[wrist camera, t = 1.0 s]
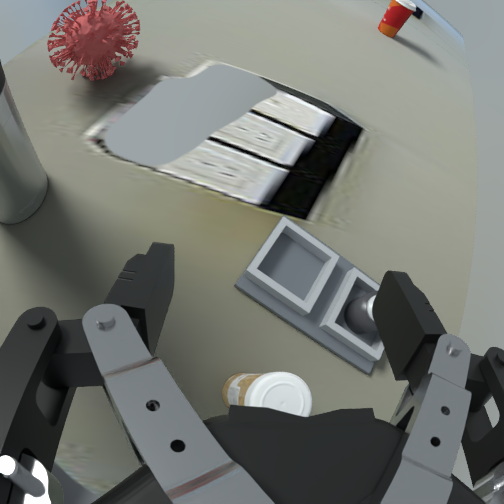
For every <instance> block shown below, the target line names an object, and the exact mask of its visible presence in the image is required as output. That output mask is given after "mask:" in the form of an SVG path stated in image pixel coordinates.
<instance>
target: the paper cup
mask: <svg viewBox="0 0 504 504" xmlns="http://www.w3.org/2000/svg"><path fill="white" fill-rule="evenodd" d="M415 8H416V6H415V4H413V3H412V2H411V1H409V0H392V1H391V3H390V5H389V7H388V9H387V11H386V13H385V15H384V17H383V18H382V20H381V22H380V24H379V27H378V29H379V31H380V32H382V33H383V34H385V35H386V36H388V37H391V38H393V37H394V36H395V35H396V34H397V32H398V31H399V30H400V28H401V27H402V26H403V25H404V23H405V22H406V21H407V19H408V18H409V17H410V15H411V14H412V13H413V12H414V11H416V9H415Z"/></svg>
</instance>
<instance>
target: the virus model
mask: <svg viewBox="0 0 504 504" xmlns="http://www.w3.org/2000/svg"><path fill="white" fill-rule="evenodd" d="M85 1H86V3H87V0H85ZM96 1H97V0H89V1H88V3H89V5H88V6H89V7H90V8H91V9H90V10H91V11H90V12H89V7H86V8H84V9H83V10H84V12H87V14H84V12H83V11H82V9H81V7H80V10H81V13H82V15H83V16H82V15H81V14H80V13H79V12H80V10H76V12H72V13H71V14H70V13H69V12H68V8H69V9H71V10H72V8H71V6H69V7H67V8H66V9H64V11H63V12H67V13H68V14H69V15H70V16H68V17H69V18H72V19H73V20H74V21H75V22H74V21H72V20H70V19H68V18H67V17H65V16H64V14H63V13H61V14H60V16H64V17H63V19H64V21H63V20H62V21H63V22H64V23H65V26H62V27H61V28H63V29H62V31H63V32H65V35H55V34H54V33H52V35H50V36H49V38H50V37H59V38H63V39H55V40H54V41H56V42H55V43H54V41H51V40H48V43H47V44H48V51H49V52H50V50H52V49H53V48H56V47H59V46H64V45H65V46H66V49H61V51H60V52H59V51H57V52H54V55H52V56H50V55H49V57H50V60H51V63H53V65H54V66H55V67H56V68H57V66H59V65H60V66H63V67H64V66H65V62H62V61H65V60H66V59H67V60H68V59H70V58H71V60H70V61H69V62H68V63H67V65H68V64H69V63H70V62H71V61H72V60H73V61H75V62H74V64H73V66H74V65H75V64H76V63H77V65H78V66H77V68H76V71H77V70H78V68H79V66H81V65H84V66H85V65H86V68H87V65H89V68H88V69H87V70H88V74H87V76H86V71H84V67H83V69H82V71H81V72H80V74H82V76H86V77H88V78H89V77H90V79H91V81H93V80H94V75H97V78H96V79H100V77H99V76H98V74H99V72H98V69H97V64H98V66H99V69H100V72H101V76H102V78H101V79H105V78H107V77H108V75H109V76H111V75H112V74H114V73H113V72H114V70H115V69H116V68H117V67H114V66H112V63H111V61H110V59H109V58H111V60H112V59H114V58H115V62H117V61H120V59H121V56H116V54H115V52H118V53H121V54H123V56H126V54H127V53H128V55H127V56H126V58H128V56H129V57H130V59H131V57H132V56H133V54H131V53H132V52H131V51H129V50H130V49H131V48H132V49H134V48H137V45H138V42H139V41H138V40H137V41H135V36H134V35H132V36H130V37H129V38H130V39H124V38H126V37H122V36H124V35H129V34H137V35H138V34H140V33H139V32H136V33H132V31H133V30H136V31H140V24H139V20H137V21H136V22H135V23H132V24H139V25H137V26H136V27H134V28H135V29H133V28H131V27H132V26H131V25H132V24H129V25H125V26H123V25H124V24H128V21H132V20H133V19H137V16H136V13H135V12H134V13H133V14H131V15H130V16H128V17H126V18H123V19H121V18H122V17H123V16H124V15H125V13H126V14H127V12H128V13H132V10H133V9H132V8H131V7H130V6H129V5H128V4H125V9H124V7H121V8H120V9H119V11H121V12H119V11H118V12H119V13H118V12H117V13H116V12H115V11H116V10H117V9H118V8H119V7H120V5H121V4H123V3H125V1H122V2H121V3H120V2H118V1H117V2H116V6H115V7H114V8H113V9H112V8H111V7H107V6H106V5H105V4H104V3H106V0H103V1H102V7H101V10H100V11H96V8H97V2H96ZM76 3H77V4H78V5H79V4H80V1H77V2H76ZM95 3H96V5H95ZM103 4H104V5H103ZM72 6H74V7H75V3H73V4H72ZM79 6H80V5H79ZM103 6H104V7H103ZM127 9H128V11H127V12H125V13H124V14H122V11H123V10H124V11H125V10H127ZM103 10H104V11H103ZM72 11H73V10H72ZM124 11H123V12H124ZM75 13H77V14H75ZM121 14H122V15H121ZM73 15H74V16H75V17H74V16H73ZM65 18H66V19H65ZM59 20H60V18H59V17H58V18H57V21H55V22H54V23H53V26H52V29H51V31H53V30H57V31H56V33H58V32H59V31H60V29H61V28H59V27H60V26H61V25H60V26H57V23H60V22H59ZM67 21H68V22H69V23H68V22H67ZM63 25H64V24H63ZM127 27H129V28H127ZM126 40H128V41H126ZM132 40H134V41H135V42H130V41H132ZM57 41H59V42H57ZM50 43H52V45H49V44H50ZM61 43H62V44H61ZM129 43H134V45H132V44H129ZM56 44H58V45H56ZM121 46H123V47H126V48H127V49H128V51H129V52H127V53H126V51H125V50H123V49H122V48H120V47H121ZM60 53H61V54H60ZM59 54H60V55H59ZM55 55H59V56H57V57H53V56H55ZM58 57H59V58H58ZM60 57H61V58H62V59H61V58H60ZM59 59H61V60H60V61H59ZM67 60H66V61H67ZM55 63H56V64H55ZM109 63H110V64H111V65H110V64H109ZM124 64H125V62H122V61H120V65H121V66H123V65H124ZM101 66H102V69H103V72H104V75H105V77H104V75H103V74H102V69H101ZM94 67H95V71H94ZM104 68H105V69H106V72H105V69H104ZM112 68H113V69H112ZM111 69H112V70H111ZM59 70H60V71H61V72H62V70H63V68H61V69H59ZM85 70H86V69H85ZM90 70H91V75H90ZM76 71H75V73H76ZM83 71H84V73H83ZM67 72H68V73H73V67H70V68H68V69H67ZM94 72H95V73H94ZM75 73H74V76H75ZM105 73H107V75H106V74H105ZM74 76H73V77H72V79H71V80H73V79H74Z"/></svg>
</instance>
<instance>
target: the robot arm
mask: <svg viewBox="0 0 504 504" xmlns="http://www.w3.org/2000/svg"><path fill="white" fill-rule="evenodd" d="M47 186H48V181H47V176H46V173H45V171H44V169H43V167H42V165H41V163H40V161H39V159H38V156H37V154H36V152H35V150H34V147H33V145H32V143H31V141H30V138H29V136H28V134H27V132H26V129H25V127H24V124H23V122H22V120H21V117H20V115H19V112H18V110H17V107H16V105H15V102H14V99H13V97H12V94H11V92H10V89H9V86H8V83H7V80H6V78H5V74H4V71H3V68H2V65H1V62H0V222H2V223H5V224H14V223H19V222H21V221H23V220H25V219H27V218H28V217H29V216H31V215H32V214H33V213H34V212H35V211H36V210H37V209H38V208H39V206H40V205H41V203H42V201H43V200H44V198H45V195H46V192H47ZM173 289H174V245H173V244H166V243H158V242H153V243H152V245H151V247H150V248H149V250H148V252H147V254H146V255H143V254H137V255H135V256H134V257H133V258H131V259H130V260H128V261H127V263H126V265H125V267H124V268H123V271H122V272H121V273H120V275H119V277H118V279H117V280H116V282H115V284H114V286H113V287H112V289H111V291H110V293H109V295H108V296H107V298H106V300H105V302H104V304H101V305H98V306H95V307H93V308H91V309H90V310H88V311H87V312H86V314H85V315H84V317H83V319H78V320H62V321H58V320H57V317H56V314H55V313H54V312H53V311H52V310H51V309H49V308H46V307H35V308H32V309H29V310H27V311H25V312H24V313H23V314H22V315H21V316H20V317H19V318H18V320H17V321H16V323H15V324H14V326H13V328H12V329H11V331H10V333H9V334H8V336H7V338H6V339H5V341H4V343H3V344H2V346H1V348H0V504H63V490H62V487H61V485H60V483H59V481H58V480H57V479H56V478H55V477H54V476H53V475H52V474H51V470H52V467H53V463H54V459H55V456H56V452H57V448H58V445H59V441H60V438H61V434H62V431H63V428H64V425H65V421H66V418H67V415H68V412H69V409H70V406H71V403H72V400H73V397H74V394H75V391H76V388H77V387H84V386H102V387H103V390H104V392H105V394H106V396H107V399H108V401H109V403H110V405H111V408H112V410H113V412H114V414H115V416H116V418H117V420H118V422H119V424H120V426H121V428H122V431H123V433H124V435H125V437H126V439H127V441H128V443H129V445H130V447H131V449H132V451H133V453H134V455H135V457H136V458H137V460H138V462H139V464H140V465H141V467H140V468H139V469H138V470H137V471H135V472H134V473H133V474H131V475H130V476H129V477H127V478H126V479H125V480H123V481H122V482H121V483H119V484H118V485H117V486H115V487H114V488H112V489H111V490H110V491H108V492H107V493H106V494H104V495H103V496H101V497H100V498H99V499H97V500H96V501H94V502H93V503H91V504H504V350H502V349H500V348H497V347H491V348H489V349H488V351H487V352H486V354H485V355H484V356H478V355H475V354H472V353H470V350H469V347H468V346H467V344H466V343H465V342H464V341H463V340H462V339H460V338H459V337H457V336H455V335H452V334H447V332H446V330H445V329H444V327H443V325H442V323H441V322H440V320H439V318H438V316H437V315H436V313H435V312H434V309H433V308H432V306H431V305H430V303H429V301H428V299H427V298H426V296H425V294H424V293H423V292H422V291H420V290H419V289H418V288H417V287H416V286H414V284H413V282H412V281H411V279H410V277H409V276H408V274H407V273H405V272H398V271H387V272H386V273H385V275H384V277H383V280H382V282H381V285H380V287H379V290H378V292H377V295H376V297H375V299H374V302H373V306H372V316H373V319H374V322H375V325H376V327H377V330H378V332H379V335H380V338H381V340H382V343H383V346H384V349H385V351H386V354H387V357H388V360H389V362H390V365H391V368H392V371H393V374H394V377H395V380H396V381H398V380H408V382H409V384H408V385H407V387H406V388H405V390H404V392H403V394H402V397H401V399H400V401H399V403H398V405H397V408H396V410H395V412H394V414H393V416H392V418H391V420H390V422H389V423H388V422H386V421H383V420H380V419H376V418H375V416H374V412H373V408H362V409H339V410H335V411H331V412H327V413H323V414H319V415H315V416H310V417H303V416H299V415H294V414H290V413H287V412H283V411H279V410H275V409H271V408H268V407H253V406H241V405H230V408H229V415H222V416H217V417H213V418H210V419H207V420H204V421H201V419H200V418H199V416H198V415H197V413H196V412H195V411H194V409H193V408H192V406H191V405H190V403H189V402H188V401H187V399H186V398H185V396H184V395H183V393H182V392H181V390H180V389H179V387H178V386H177V384H176V383H175V381H174V379H173V378H172V376H171V375H170V373H169V372H168V370H167V369H166V367H165V365H164V364H163V362H162V361H161V360H160V359H159V358H158V357H155V358H153V356H154V352H155V349H156V346H157V342H158V339H159V336H160V333H161V329H162V326H163V323H164V320H165V317H166V314H167V311H168V307H169V304H170V301H171V298H172V295H173ZM492 396H493V398H494V400H495V402H496V405H497V407H498V410H499V413H500V417H499V421H498V423H497V425H496V426H495V427H494V428H492V425H491V422H490V420H489V417H488V414H487V412H486V409H485V407H484V405H485V404H486V403H487V401H488V400H489V399H490V398H491V397H492ZM460 443H462V446H463V450H464V453H465V457H466V461H467V464H468V468H469V472H470V476H471V480H472V484H473V491H472V490H471V489H470V488H469V487H467V486H466V485H465V484H464V483H463V482H461V481H460V480H459V479H458V478H457V477H455V476H454V475H453V474H452V470H453V467H454V463H455V460H456V457H457V453H458V450H459V446H460Z"/></svg>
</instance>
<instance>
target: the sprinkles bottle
mask: <svg viewBox="0 0 504 504" xmlns="http://www.w3.org/2000/svg"><path fill="white" fill-rule="evenodd" d="M222 396H223V400H224V403H225V404H226V406H227V407H228V408H230V405H241V406H253V407H268V408H271V409H275V410H279V411H283V412H287V413H290V414H294V415H299V416H303V417H309V415H310V412H311V408H312V396H311V392H310V390H309V388H308V386H307V384H306V383H305V382H304V381H303V380H302V379H301V378H299V377H298V376H296V375H294V374H291V373H287V372H271V373H267V374H248V373H239V374H235V375H233V376H231V377H230V378H229V379H228V380H227V381H226V383H225V384H224V387H223V390H222Z"/></svg>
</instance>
